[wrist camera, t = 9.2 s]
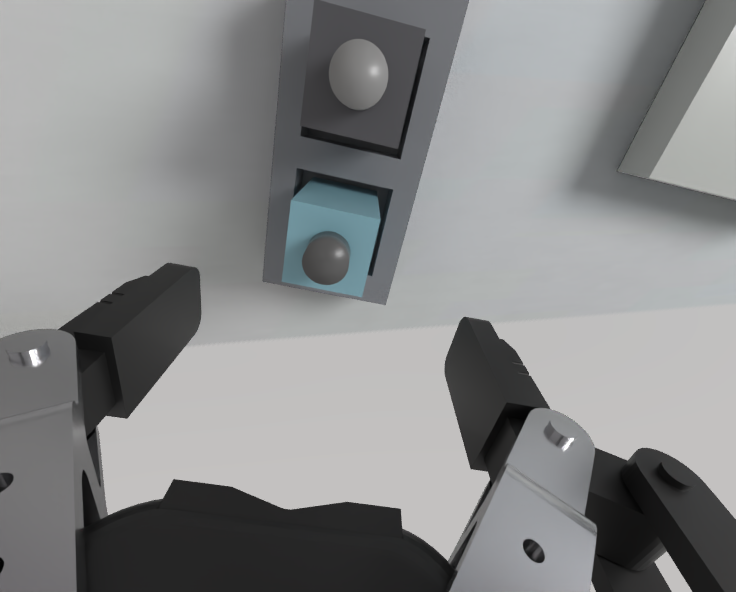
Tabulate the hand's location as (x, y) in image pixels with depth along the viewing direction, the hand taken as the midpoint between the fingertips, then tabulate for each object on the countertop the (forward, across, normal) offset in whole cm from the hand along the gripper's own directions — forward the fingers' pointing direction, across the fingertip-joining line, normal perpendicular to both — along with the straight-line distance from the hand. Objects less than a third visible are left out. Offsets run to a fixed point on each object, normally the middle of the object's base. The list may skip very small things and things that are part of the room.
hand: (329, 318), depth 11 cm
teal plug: (+13, +1, 0) cm, 13 cm away
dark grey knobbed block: (+13, +1, -6) cm, 15 cm away
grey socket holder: (+14, +1, -3) cm, 14 cm away
